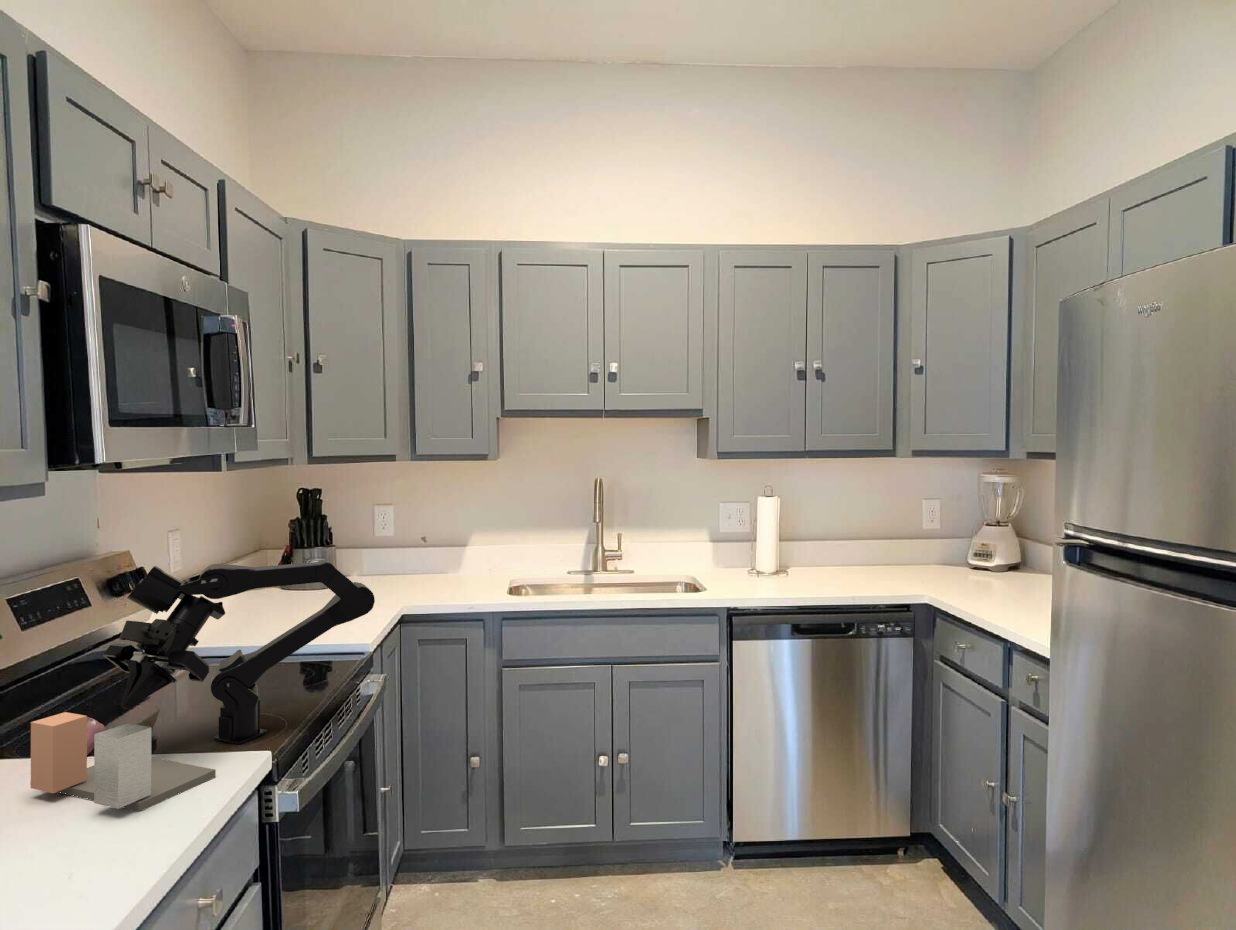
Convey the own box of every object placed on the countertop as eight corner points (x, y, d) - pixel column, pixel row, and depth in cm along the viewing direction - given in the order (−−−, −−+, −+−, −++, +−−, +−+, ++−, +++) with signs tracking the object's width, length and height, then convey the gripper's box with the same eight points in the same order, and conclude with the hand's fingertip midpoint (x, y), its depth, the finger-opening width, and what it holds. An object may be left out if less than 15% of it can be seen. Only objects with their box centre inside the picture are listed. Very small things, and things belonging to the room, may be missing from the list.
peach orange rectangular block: (64, 775, 118) (65, 712, 118) (86, 780, 116) (86, 715, 116) (30, 788, 114) (30, 722, 114) (52, 793, 112) (52, 726, 112)
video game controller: (97, 762, 131) (114, 720, 134) (75, 759, 127) (93, 716, 130) (54, 756, 134) (71, 715, 137) (31, 753, 130) (49, 711, 133)
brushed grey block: (127, 789, 113) (127, 723, 113) (151, 794, 112) (151, 727, 112) (94, 803, 109) (94, 734, 109) (118, 808, 107) (118, 738, 107)
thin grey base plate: (128, 759, 128) (128, 752, 128) (215, 776, 121) (215, 769, 121) (47, 790, 116) (47, 782, 116) (139, 811, 109) (139, 803, 109)
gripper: (113, 597, 131) (48, 677, 121) (194, 603, 125) (133, 688, 115) (154, 632, 139) (96, 710, 129) (232, 640, 133) (178, 722, 122)
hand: (124, 707), depth 123 cm, fingers closed
